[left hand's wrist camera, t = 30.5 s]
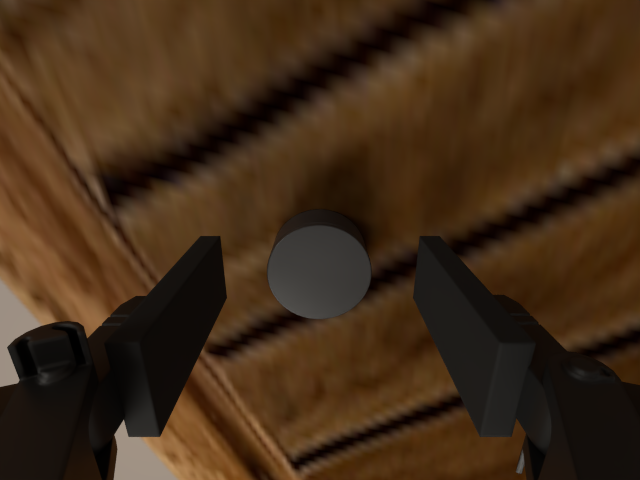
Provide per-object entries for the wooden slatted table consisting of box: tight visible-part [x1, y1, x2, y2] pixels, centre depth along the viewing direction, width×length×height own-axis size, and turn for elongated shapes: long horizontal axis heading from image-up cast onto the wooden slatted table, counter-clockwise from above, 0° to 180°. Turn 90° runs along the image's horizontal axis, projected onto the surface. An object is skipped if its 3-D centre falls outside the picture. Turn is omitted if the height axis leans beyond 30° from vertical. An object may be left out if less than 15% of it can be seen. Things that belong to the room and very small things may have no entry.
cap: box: [267, 209, 371, 319], centre depth 15 cm, size 4×4×2 cm
